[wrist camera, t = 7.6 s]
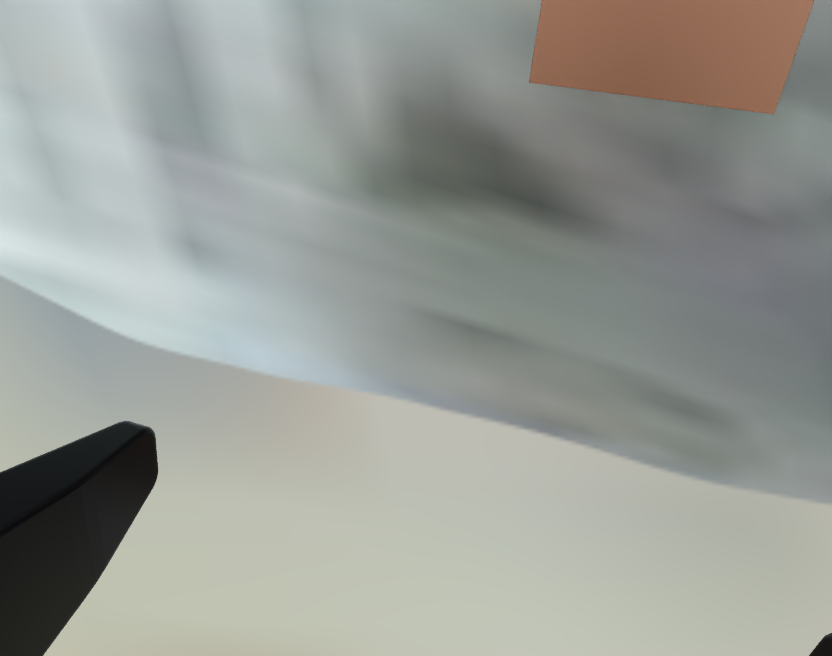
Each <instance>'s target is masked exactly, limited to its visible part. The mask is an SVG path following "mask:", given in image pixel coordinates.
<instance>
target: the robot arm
mask: <svg viewBox="0 0 832 656" xmlns="http://www.w3.org/2000/svg"><path fill="white" fill-rule="evenodd" d="M157 475H158V462H157V451H156V438H155V433H154V431H153V430H152V429H151V428H150V427H147V426H143V425H140V424H137V423H134V422H130V421H123V422H119V423H117V424H114V425H112V426H110V427H107V428H105V429H102V430H100V431H98V432H95V433H93V434H91V435H88V436H86V437H83V438H81V439H79V440H76V441H74V442H72V443H69V444H67V445H64V446H62V447H60V448H57V449H55V450H52V451H50V452H48V453H45V454H43V455H40V456H38V457H36V458H33V459H31V460H29V461H26V462H24V463H21V464H19V465H17V466H14V467H12V468H10V469H7V470H5V471H3V472H0V656H43V655H44V653H45V652H46V651H47V649H48V648H49V647H50V645H51V644H52V643H53V641H54V640H55V639H56V637H57V636H58V634H59V633H60V632H61V630H62V629H63V628H64V626H65V625H66V624H67V622H68V621H69V619H70V618H71V617H72V616H73V614H74V613H75V611H76V610H77V609H78V607H79V606H80V605H81V603H82V602H83V601H84V599H85V598H86V596H87V595H88V594H89V592H90V591H91V589H92V588H93V587H94V585H95V584H96V582H97V581H98V579H99V578H100V576H101V574H102V573H103V571H104V570H105V568H106V566H107V565H108V563H109V561H110V560H111V558H112V556H113V555H114V553H115V551H116V549H117V548H118V546H119V544H120V543H121V541H122V539H123V538H124V535H125V534H126V532H127V531H128V529H129V527H130V526H131V524H132V522H133V521H134V519H135V517H136V516H137V514H138V512H139V510H140V509H141V507H142V505H143V504H144V502H145V500H146V499H147V497H148V495H149V494H150V492H151V490H152V489H153V486H154V485H155V482H156V479H157ZM809 656H832V633H830V634H828V635H826V636H825V637H824V638H823V639H822V640H821V641H820V642H819V644H818V645H817V646H816V648H815V649H814V650H813V651H812V653H811V654H810V655H809Z"/></svg>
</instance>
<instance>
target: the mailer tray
mask: <svg viewBox="0 0 832 656" xmlns="http://www.w3.org/2000/svg"><path fill="white" fill-rule="evenodd" d="M813 2H814V0H542V4H541V11H540V17H539V23H538V29H537V35H536V42H535V48H534V54H533V60H532V66H531V73H530V79H529V83H537V84H545V85H553V86H560V87H568V88H576V89H583V90H591V91H599V92H606V93H614V94H622V95H629V96H637V97H645V98H653V99H660V100H668V101H676V102H683V103H691V104H699V105H706V106H714V107H722V108H729V109H737V110H745V111H752V112H760V113H768V114H774V113H775V110H776V107H777V104H778V101H779V98H780V96H781V93H782V90H783V87H784V84H785V81H786V79H787V76H788V73H789V70H790V67H791V64H792V62H793V59H794V56H795V53H796V50H797V47H798V45H799V42H800V39H801V36H802V33H803V30H804V28H805V25H806V22H807V19H808V16H809V13H810V11H811V8H812V5H813Z"/></svg>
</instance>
